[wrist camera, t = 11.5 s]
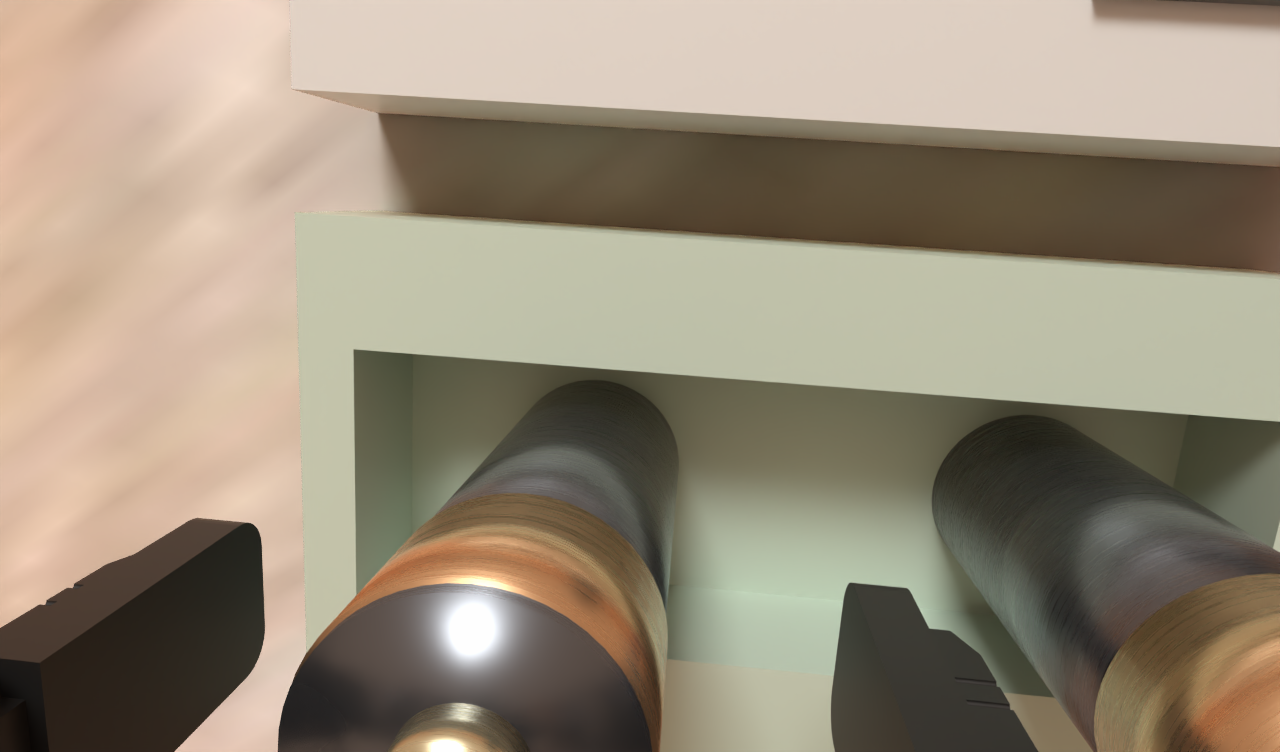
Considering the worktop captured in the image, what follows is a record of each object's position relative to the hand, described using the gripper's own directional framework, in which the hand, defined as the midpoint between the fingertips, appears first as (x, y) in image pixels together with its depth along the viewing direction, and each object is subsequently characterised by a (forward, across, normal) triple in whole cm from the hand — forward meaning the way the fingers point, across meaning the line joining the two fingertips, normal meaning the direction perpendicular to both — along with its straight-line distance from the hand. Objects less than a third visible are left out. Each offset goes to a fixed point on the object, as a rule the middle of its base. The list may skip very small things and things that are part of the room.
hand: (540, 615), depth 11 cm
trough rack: (+7, -4, 0) cm, 8 cm away
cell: (+7, 0, 0) cm, 7 cm away
